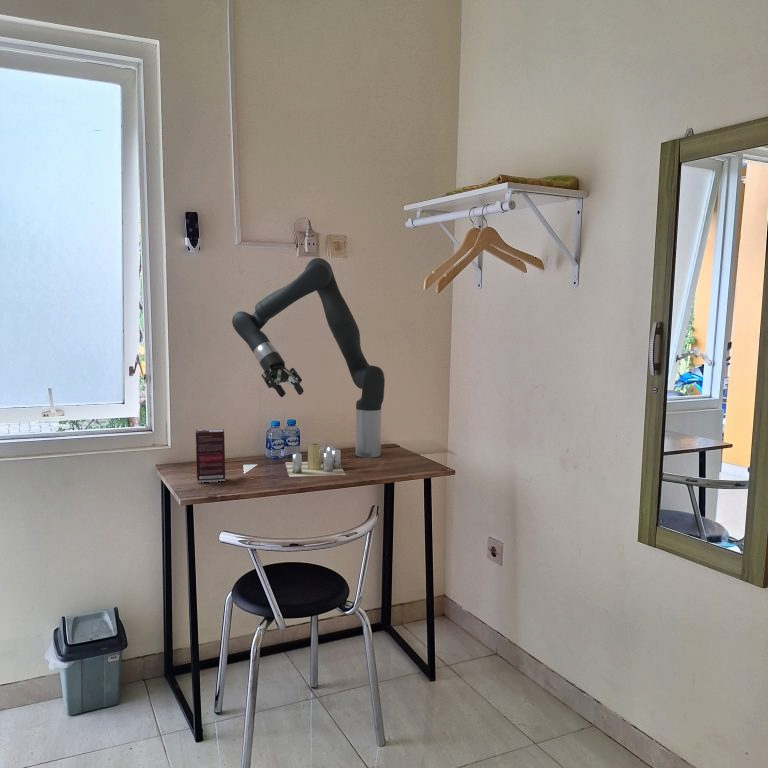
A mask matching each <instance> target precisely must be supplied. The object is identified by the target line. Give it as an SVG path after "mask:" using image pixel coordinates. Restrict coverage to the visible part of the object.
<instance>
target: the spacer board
mask: <svg viewBox="0 0 768 768" xmlns="http://www.w3.org/2000/svg"><path fill="white" fill-rule="evenodd" d="M284 464H285V468H286V470H287V475H288V477H290V478H293V477H294V478H295V477H296V478H297V477H325V476H326V477H327V476H346V475H347V474H346V472H345V471H344V468H343V467H342V466H341V468H340V469H333V471H332V472H323V464H321V469H320V470H311V469H308V461H302V473H300V474H294V473H293V461H290V462H289V461H287V462H284Z"/></svg>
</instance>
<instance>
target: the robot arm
mask: <svg viewBox="0 0 768 768" xmlns="http://www.w3.org/2000/svg"><path fill="white" fill-rule="evenodd" d="M314 292H316V293H317V294H318V296H319V298H320V300H321V303H322V307H323V311H324V312H323V313H324V315H325V319H326V321H327V325H328V328H329V329H330V332H331V333H332V335H333V338H334V340H335V341H336V343H337V345H338V348H339V350H340V352H341V354H342V356H343V358H344V360H345V363H346V366H347V368H348V372H349V374H350V376H351V379H352V382H353V384H354V385H355V386H356V387H357V388H358V389H360V390H361V396H360V398H359V399H358V400H356V402H355V453H354V454H355V457H358V456H359V457H358V458H365V459H366V458H370V459H371V458H378V457H381V450H382V449H381V446H382V405H383V402H384V398H385V386H386V385H385V373H384V371H383V370H382V368H380V367H379V366H377V365H371V364H369V363H368V361H367V359H366V358H365V355H364V353H363V351H362V347H361V333H360V329H359V327H358V324H357V322H356V320H355V317H354V315H353V314H352V312H351V310H350V307H349V306H348V304H347V302H346V300H345V298H344V297H343V295H342V293H341V291H340V289H339V286H338V283H337V281H336V277H335V275H334V271H333V269H332V266H331V264H330V263H329V262H328V261H327V260H326V259H325V258H321V257H316V258H312V259H311V260H310V261H308V263H307V265H306V266H305V268H304V270H303V271H302V273H301V274H299V276H297V277H296V278H295V279H294V280H293V281H291V282H290V283H289V284H287V285H285V286H283V287H282V288H279V289H277V290H275V291H273V292H272V293H270V294H268V295H267V296H266V297H264V298H262V299H261V300H260V301H258V302H256V304H255V305H254V312H253V313H254V314H253V313H249V312H246V311H242V310H241V311H238V312H236V313H234V314H233V316H232V320H231V321H232V322H231V323H232V326H233V329H234V330H235V332H236V333H237V334H238V336H240V338H241V339H242V340H243V341H244V342H245V343H246V344H247V345H248V347H249V348H250V350H251V352H252V353H253V355H254V357H255V359H256V360H257V362H258V364H259V365H260V367H261V368H262V370H263V372H262V373H261V377H262V379H263V381H264V383H265V384H266V386H267V388H268V389H274V390H275V391H276V393H277V395H278V396H279V397H280V398H283V397H285V396H286V391H285V390H284V388H283V386H282V385H281V384H280V383H286V384H287V385H291V386H293V389H294V390H295V391H296V393H297V394H298V395H299V396H301V395H303V393H304V391H305V390H304V388H303V387H302V385H301V382H302V381H303V379H302V377H301V376H300V374H299V373H298V372H297V371H296V369H295V368H294V367H291V368H290V369H288V368H287V367H286V363H285V362H286V361H285V360H284V358H283V357H282V356H281V354H280V353H279V351H278V350H277V348H276V347H275V346H274V345H273V344H272V342H271V340H270V339H269V338H268V336H267V335H266V334H265V333H264V331H262V330H261V329H262V328H263V327H265V325H266V324H267V323H268V321H269V320H271V319H272V318H273V317H275V316H277V315H278V314H280V313H281V312H282V311H284V310H286V309H287V308H288V307H289V306H291V305H293V304H295V302H297V301H299V300H300V299H302V298H304V297H305V296H308V295H310V294H312V293H314ZM251 314H253V315H251Z"/></svg>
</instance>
